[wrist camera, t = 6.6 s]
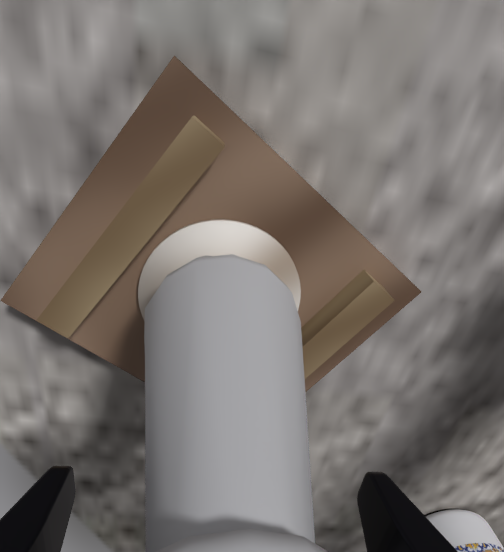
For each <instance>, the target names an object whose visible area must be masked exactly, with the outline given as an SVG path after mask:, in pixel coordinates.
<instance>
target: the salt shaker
mask: <svg viewBox="0 0 504 552" xmlns="http://www.w3.org/2000/svg"><path fill="white" fill-rule="evenodd" d="M144 343H145V477H146V552H328V551H326V550H325V549H323V548H321V547H320V546H318V545H317V544H315V532H314V517H313V501H312V486H311V471H310V455H309V440H308V425H307V409H306V394H305V379H304V363H303V348H302V333H301V321H300V318H299V314H298V311H297V308H296V304H295V301H294V298H293V294H292V292H291V291H290V289H289V288H288V287H287V286H286V285H285V284H284V283H283V282H282V281H281V280H280V279H279V278H278V277H277V276H276V275H275V274H274V273H273V272H272V271H271V270H270V269H269V268H268V267H267V266H266V265H264V264H261V263H258V262H255V261H252V260H248V259H245V258H242V257H239V256H236V255H233V254H230V255H220V256H207V255H205V256H201V257H198V258H195V259H194V260H192V261H190V262H188V263H187V264H185V265H183V266H182V267H180V268H178V269H177V270H175V271H173V272H172V273H170V274H168V275H167V276H166V277H165V279H164V280H163V282H162V283H161V285H160V286H159V288H158V289H157V291H156V292H155V294H154V295H153V297H152V298H151V300H150V301H149V303H148V305H147V306H146V308H145V327H144Z"/></svg>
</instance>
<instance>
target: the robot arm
mask: <svg viewBox="0 0 504 552" xmlns="http://www.w3.org/2000/svg"><path fill="white" fill-rule="evenodd" d="M74 498H75V484H74V473H73V468H72V467H71V466H53V467H51V468H50V469H49V470H48V471H47V472H46V473H45V474H44V475H43V476H42V477H41V478H40V479H39V480H38V481H37V482H36V483H35V484H34V485H33V486H32V487H31V488H30V489H29V490H28V491H27V493H25V495H24V496H23V497H22V498H21V499H20V500H19V501H18V502H17V503H16V504H15V505H14V506H13V507H12V508H11V509H10V510H9V511H8V512H7V513H6V514H5V515H4V516H3V517H2V518H1V520H0V552H60V551H61V547H62V544H63V540H64V536H65V532H66V529H67V525H68V521H69V518H70V514H71V510H72V506H73V503H74ZM357 501H358V508H359V513H360V518H361V523H362V528H363V533H364V538H365V543H366V548H367V552H458V551H457V550H456V549H455V548H454V547H453V546H452V545H451V544H450V543H449V541H448V540H447V539H446V538H445V537H444V536H443V535H442V534H441V533H440V532H439V531H438V530H437V529H436V528H435V526H434V525H433V524H432V523H431V522H430V521H429V520H428V519H427V518H426V517H425V516H424V515H423V514H422V512H421V511H420V510H419V509H418V508H417V507H416V506H415V505H414V504H413V503H412V502H411V501H410V500H409V498H408V497H407V496H406V495H405V494H404V493H403V492H402V491H401V490H400V489H399V488H398V487H397V486H396V484H395V483H394V482H393V481H392V480H391V479H390V478H389V477H388V476H387V475H386V474H385V473H383V472H367V473H366V474H365V476H364V479H363V482H362V484H361V487H360V489H359V492H358V496H357Z"/></svg>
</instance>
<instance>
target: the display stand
mask: <svg viewBox="0 0 504 552" xmlns="http://www.w3.org/2000/svg"><path fill="white" fill-rule="evenodd" d="M230 254H233V255H236V256H239V257H242V258H245V259H248V260H252V261H255V262H258V263H261V264H264V265H266V266H267V267H268V268H269V269H270V270H271V271H272V272H273V273H274V274H275V275H276V276H277V277H278V278H279V279H280V280H281V281H282V282H283V283H284V284H285V285H286V286H287V287H288V288H289V289H290V291H291V292H292V294H293V298H294V301H295V304H296V308H297V311H298V314H299V318H300V321H301V333H302V348H303V363H304V379H305V392H306V391H308V390H309V389H310V388H311V387H312V386H313V385H314V384H316V383H317V382H318V381H319V380H320V379H321V378H323V377H324V376H325V375H326V374H327V373H328V372H330V371H331V370H332V369H333V368H334V367H335V366H336V365H338V364H339V363H340V362H341V361H342V360H343V359H345V358H346V357H347V356H348V355H349V354H350V353H351V352H353V351H354V350H355V349H356V348H357V347H358V346H360V345H361V344H362V343H363V342H364V341H365V340H366V339H368V338H369V337H370V336H371V335H372V334H373V333H375V332H376V331H377V330H378V329H379V328H380V327H382V326H383V325H384V324H385V323H386V322H387V321H388V320H390V319H391V318H392V317H393V316H394V315H395V314H397V313H398V312H399V311H400V310H401V309H402V308H403V307H405V306H406V305H407V304H408V303H409V302H410V301H412V300H413V299H414V298H415V297H416V296H417V295H419V294H420V293H421V291H420V290H419V289H418V288H417V287H416V286H415V285H414V284H413V283H412V282H411V281H410V280H409V279H408V278H407V277H406V276H405V275H403V274H402V273H401V272H400V271H399V270H398V269H397V268H396V267H395V266H394V265H393V264H392V263H391V262H390V261H389V260H388V259H387V258H386V257H385V256H384V255H383V254H382V253H380V252H379V251H378V250H377V249H376V248H375V247H374V246H373V245H372V244H371V243H370V242H369V241H368V240H367V239H366V238H365V237H364V236H363V235H362V234H361V233H360V232H358V231H357V230H356V229H355V228H354V227H353V226H352V225H351V224H350V223H349V222H348V221H347V220H346V219H345V218H344V217H343V216H342V215H341V214H340V213H339V212H338V211H337V210H335V209H334V208H333V207H332V206H331V205H330V204H329V203H328V202H327V201H326V200H325V199H324V198H323V197H322V196H321V195H320V194H319V193H318V192H317V191H316V190H315V189H313V188H312V187H311V186H310V185H309V184H308V183H307V182H306V181H305V180H304V179H303V178H302V177H301V176H300V175H299V174H298V173H297V172H296V171H295V170H294V169H293V168H292V167H290V166H289V165H288V164H287V163H286V162H285V161H284V160H283V159H282V158H281V157H280V156H279V155H278V154H277V153H276V152H275V151H274V150H273V149H272V148H271V147H270V146H268V145H267V144H266V143H265V142H264V141H263V140H262V139H261V138H260V137H259V136H258V135H257V134H256V133H255V132H254V131H253V130H252V129H251V128H250V127H249V126H248V125H247V124H245V123H244V122H243V121H242V120H241V119H240V118H239V117H238V116H237V115H236V114H235V113H234V112H233V111H232V110H231V109H230V108H229V107H228V106H227V105H226V104H225V103H223V102H222V101H221V100H220V99H219V98H218V97H217V96H216V95H215V94H214V93H213V92H212V91H211V90H210V89H209V88H208V87H207V86H206V85H205V84H204V83H203V82H202V81H200V80H199V79H198V78H197V77H196V76H195V75H194V74H193V73H192V72H191V71H190V70H189V69H188V68H187V67H186V66H185V65H184V64H183V63H182V62H181V61H180V60H178V59H177V58H176V57H175V56H174V57H173V58H172V60H171V61H170V62H169V64H168V65H167V67H166V68H165V70H164V71H163V72H162V74H161V75H160V77H159V78H158V79H157V81H156V82H155V84H154V85H153V86H152V88H151V89H150V91H149V92H148V93H147V95H146V96H145V98H144V99H143V101H142V102H141V103H140V105H139V106H138V108H137V109H136V110H135V112H134V113H133V115H132V116H131V117H130V119H129V120H128V122H127V123H126V124H125V126H124V127H123V129H122V130H121V132H120V133H119V134H118V136H117V137H116V139H115V140H114V141H113V143H112V144H111V146H110V147H109V148H108V150H107V151H106V153H105V154H104V155H103V157H102V158H101V160H100V161H99V163H98V164H97V165H96V167H95V168H94V170H93V171H92V172H91V174H90V175H89V177H88V178H87V179H86V181H85V182H84V184H83V185H82V186H81V188H80V189H79V191H78V192H77V194H76V195H75V196H74V198H73V199H72V201H71V202H70V203H69V205H68V206H67V208H66V209H65V210H64V212H63V213H62V215H61V216H60V217H59V219H58V220H57V222H56V223H55V225H54V226H53V227H52V229H51V230H50V232H49V233H48V234H47V236H46V237H45V239H44V240H43V241H42V243H41V244H40V246H39V247H38V248H37V250H36V251H35V253H34V254H33V256H32V257H31V258H30V260H29V261H28V263H27V264H26V265H25V267H24V268H23V270H22V271H21V272H20V274H19V275H18V277H17V278H16V279H15V281H14V282H13V284H12V285H11V287H10V288H9V289H8V291H7V292H6V294H5V295H4V296H3V298H2V299H1V301H2V302H4V303H5V304H7V305H9V306H11V307H13V308H14V309H16V310H18V311H20V312H21V313H23V314H25V315H27V316H28V317H30V318H32V319H34V320H36V321H37V322H39V323H41V324H43V325H44V326H46V327H48V328H50V329H52V330H53V331H55V332H57V333H59V334H60V335H62V336H64V337H66V338H67V339H69V340H71V341H73V342H75V343H76V344H78V345H80V346H82V347H83V348H85V349H87V350H89V351H90V352H92V353H94V354H96V355H98V356H99V357H101V358H103V359H105V360H106V361H108V362H110V363H112V364H113V365H115V366H117V367H119V368H121V369H122V370H124V371H126V372H128V373H129V374H131V375H133V376H135V377H136V378H138V379H140V380H142V381H144V382H145V343H144V327H145V308H146V306H147V305H148V303H149V301H150V300H151V298H152V297H153V295H154V294H155V292H156V291H157V289H158V288H159V286H160V285H161V283H162V282H163V280H164V279H165V277H166V276H167V275H168V274H170V273H172V272H173V271H175V270H177V269H178V268H180V267H182V266H183V265H185V264H187V263H188V262H190V261H192V260H194V259H195V258H198V257H201V256H205V255H207V256H220V255H230Z"/></svg>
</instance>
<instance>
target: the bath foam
mask: <svg viewBox="0 0 504 552" xmlns="http://www.w3.org/2000/svg"><path fill="white" fill-rule="evenodd" d="M426 518H427V519H428V520H429V521H430V522H431V523H432V524H433V525H434V526H435V528H436V529H437V530H438V531H439V532H440V533H441V534H442V535H443V536H444V537H445V538H446V539H447V540H448V541H449V543H450V544H451V545H452V546H453V547H454V548H455V549H456V550H457V551H458V552H504V548H503V546H502V545H501V543H500V541H499V540H498V538H497V537H496V535H495V534H494V532H493V530H492V529H491V527H490V526H489V524H488V523H487V522H486V520H485V519H484V518H483V517H481V516H480V515H478V514H476V513H474V512H471V511H468V510H461V509H452V510H444V511H440V512H436V513H433V514H430V515H428V516H426Z"/></svg>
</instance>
